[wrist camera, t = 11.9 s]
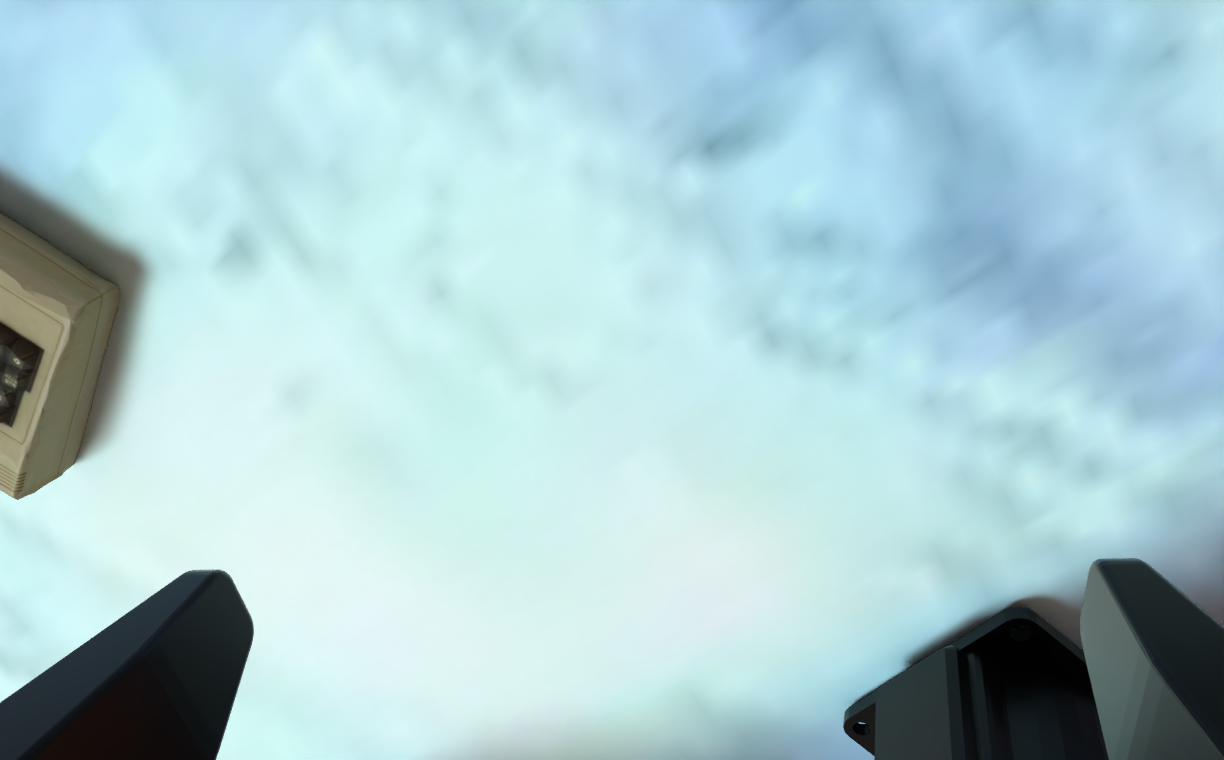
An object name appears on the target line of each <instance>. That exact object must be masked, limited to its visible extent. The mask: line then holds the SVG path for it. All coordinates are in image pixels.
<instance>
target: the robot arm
mask: <svg viewBox="0 0 1224 760" xmlns="http://www.w3.org/2000/svg"><path fill="white" fill-rule="evenodd" d="M1015 626H1025V627H1027V628H1026V629H1023V630H1015V629H1013V627H1015ZM253 634H254V629H253V622H252V618H251V616H250V614H249V612H248V610H247V608H246V606H245V604H244V602H243V600H242V598H241V596H240V594H239V592H238V590H237V588H236V586H235V584H234V582H233V580H232V578H231V577H230V575H229V574H227V573H226V572H225V571H222V570H192V571H188V572H186V573H184V574H182V575H181V576H179V577H178V578H177V579H175V580H174V581H172V582H171V583H169V584H168V585H167V586H165V587H164V588H162V589H161V590H160V591H158V592H157V593H155V594H154V595H152V596H151V597H150V598H148V599H147V600H145V601H144V602H143V603H141V604H140V605H138V606H137V607H135V608H134V609H133V610H131V611H130V612H128V613H127V614H125V615H124V616H123V617H121V618H120V619H118V620H117V621H116V622H114V623H113V624H111V625H110V626H108V627H107V628H106V629H104V630H103V631H101V632H100V633H98V634H97V635H96V636H94V637H93V638H91V639H90V640H89V641H87V642H86V643H84V644H83V645H81V646H80V647H79V648H77V649H76V650H74V651H73V652H72V653H70V654H69V655H67V656H66V657H64V658H63V659H62V660H60V661H59V662H57V663H56V664H54V665H53V666H52V667H50V668H49V669H47V670H46V671H45V672H43V673H42V674H40V675H39V676H37V677H36V678H35V679H33V680H32V681H30V682H29V683H27V684H26V685H25V686H23V687H22V688H20V689H19V690H18V691H16V692H15V693H13V694H12V695H10V696H9V697H8V698H6V699H5V700H3V701H2V702H0V760H216V757H217V754H218V752H219V749H220V746H221V742H222V739H223V736H224V733H225V729H226V726H227V723H228V720H229V716H230V713H231V710H232V707H233V703H234V700H235V697H236V694H237V690H238V687H239V684H240V681H241V677H242V674H243V671H244V668H245V664H246V661H247V658H248V655H249V651H250V648H251V645H252V641H253ZM1080 634H1081V642H1082V647H1083V651H1084V652H1083V651H1082V650H1080V649H1079V648H1078V647H1077V646H1075V645H1074V644H1073V643H1072V642H1071V641H1069V640H1068V639H1067V638H1066V637H1064V636H1063V635H1062V634H1061V633H1060V632H1058V631H1057V630H1056V629H1055V628H1053V627H1052V626H1051V625H1050V624H1048V623H1047V622H1046V621H1045V620H1044V619H1042V618H1041V617H1040V616H1039V615H1037V614H1036V613H1035V612H1033V611H1031V610H1030V609H1027V608H1022V607H1013V608H1009V609H1007V610H1004V611H1003V612H1001V613H1000V614H998V615H996V616H995V617H993V618H992V619H990V620H988V621H987V622H985V623H984V624H982V625H980V626H979V627H977V628H976V629H974V630H972V631H971V632H969V633H968V634H966V635H964V636H963V637H961V638H960V639H958V640H956V641H955V642H953V643H952V644H950V645H948V646H946V647H943V648H941V649H939V650H937V651H936V652H934V653H933V654H931V655H929V656H928V657H926V658H925V659H923V660H921V661H920V662H918V663H917V664H915V665H913V666H912V667H910V668H909V669H907V670H905V671H904V672H902V673H901V674H899V675H897V676H896V677H894V678H893V679H891V680H889V681H888V682H886V683H885V684H883V685H881V686H880V687H878V688H877V690H876V691H875V692H873V693H871V694H870V695H868V696H867V697H865V698H863V699H862V700H860V701H859V702H857V703H855V704H854V705H852V706H851V707H849V708H848V709H847V710H846V711H845V714H844V725H843V727H844V731H845V733H846V734H847V735H848V736H849V737H850V738H852V739H853V740H854V741H856V742H857V743H858V744H859V745H861V746H862V747H863V748H865V749H866V750H867V751H868V752H870V753H871V754H872V755H874V756H875V760H1224V627H1223V626H1222V625H1221V624H1220V623H1218V622H1217V621H1216V620H1215V619H1214V618H1212V617H1211V616H1210V615H1209V614H1208V613H1206V612H1205V611H1204V610H1203V609H1202V608H1200V607H1199V606H1198V605H1197V604H1196V603H1194V602H1193V601H1192V600H1191V599H1190V598H1188V597H1187V596H1186V595H1185V594H1183V593H1182V592H1181V591H1180V590H1179V589H1177V588H1176V587H1175V586H1174V585H1173V584H1171V583H1170V582H1169V581H1168V580H1167V579H1165V578H1164V577H1163V576H1162V575H1161V574H1159V573H1158V572H1157V571H1156V570H1155V569H1153V568H1152V567H1151V566H1150V565H1148V564H1147V563H1146V562H1144V561H1142V560H1139V559H1134V558H1128V559H1098V560H1096V561H1094V562H1093V563H1092V565H1091V567H1090V569H1089V574H1088V579H1087V585H1086V590H1085V596H1084V601H1083V607H1082V612H1081V618H1080ZM858 722H862V723H866V724H859V723H858Z"/></svg>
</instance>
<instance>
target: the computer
mask: <svg viewBox="0 0 1224 760" xmlns="http://www.w3.org/2000/svg"><path fill="white" fill-rule="evenodd" d="M119 301H120V288H119V287H118V286H117V285H116V284H114V283H111V282H109V281H107V280H105V279H103V278H101V277H99V276H98V275H96V274H95V273H93V272H91V271H90V270H88V269H87V268H85V267H84V266H83V265H81V264H80V263H79V262H77V261H76V260H74V259H73V258H71V257H69V256H68V255H66V254H65V253H63V252H62V251H60V250H59V249H57V248H56V247H54V246H53V245H51V244H50V243H48V242H47V241H45V240H44V239H42V238H40V237H39V236H37V235H36V234H34V233H33V232H31V231H29V230H28V229H26V228H25V227H23V226H21V225H20V224H18V223H16V222H15V221H13V220H12V219H10V218H8V217H6V216H4V215H3V214H1V213H0V490H1V491H3V492H4V493H6V494H8V495H9V496H11V497H12V498H15V499H17V500H19V499H21V498H23V497H25V496H27V495H30V494H32V493H34V492H36V491H37V490H39V489H40V488H42V487H43V486H45V485H46V484H48V483H49V482H51V481H53V480H55V479H56V478H58V477H60V476H61V475H62V474H63V473H64V472H65V471H66V470H67V469H68V468H70V467H71V466H72V465H73V464H74V462H75V460H76V458H77V455H78V452H79V449H80V446H81V443H82V439H83V435H84V431H85V427H86V423H87V420H88V416H89V413H90V409H91V405H92V401H93V397H94V392H95V388H96V384H97V380H98V376H99V373H100V369H101V364H102V361H103V357H104V354H105V351H106V347H107V344H108V340H109V337H110V333H111V329H112V325H113V321H114V318H115V316H116V313H117V310H118V305H119Z"/></svg>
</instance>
